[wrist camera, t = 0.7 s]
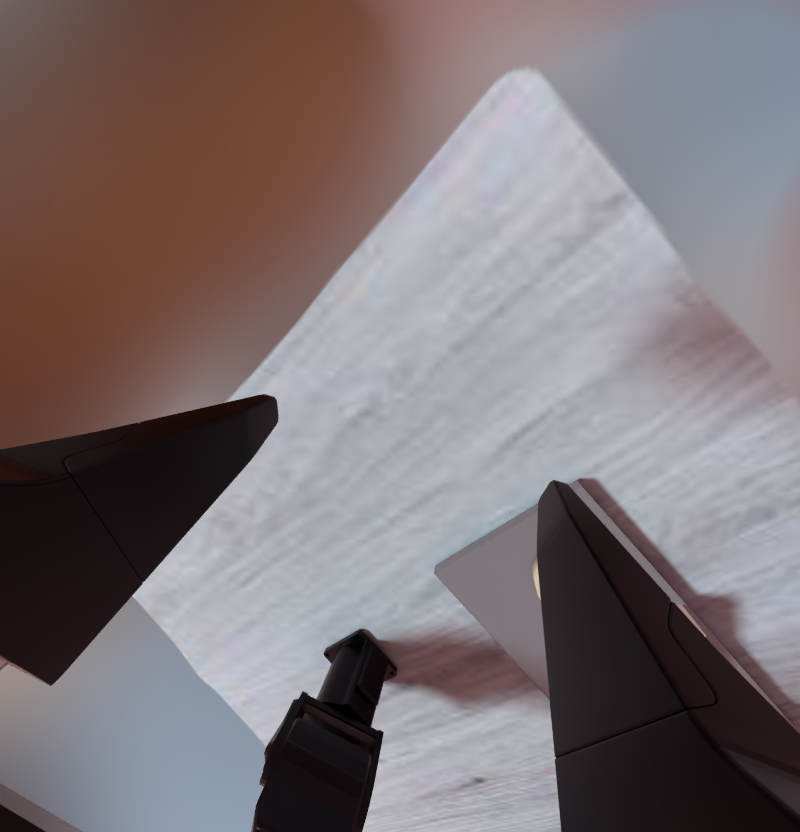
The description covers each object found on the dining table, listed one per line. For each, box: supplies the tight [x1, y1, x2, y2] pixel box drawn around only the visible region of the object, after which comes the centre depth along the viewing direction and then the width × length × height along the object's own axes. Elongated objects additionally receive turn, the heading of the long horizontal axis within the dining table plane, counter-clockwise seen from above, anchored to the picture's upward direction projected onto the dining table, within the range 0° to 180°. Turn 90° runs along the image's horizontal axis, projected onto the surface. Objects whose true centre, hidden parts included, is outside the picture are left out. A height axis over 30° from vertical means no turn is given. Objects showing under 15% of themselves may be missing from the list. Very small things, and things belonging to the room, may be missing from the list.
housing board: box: [434, 480, 800, 733], centre depth 25 cm, size 15×28×4 cm, turn 43°
